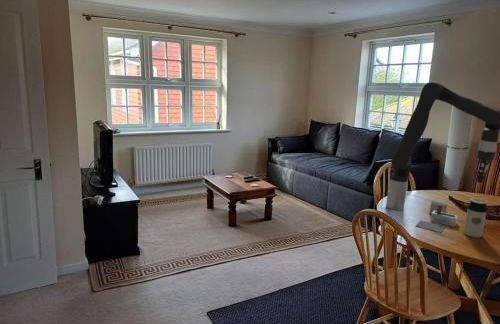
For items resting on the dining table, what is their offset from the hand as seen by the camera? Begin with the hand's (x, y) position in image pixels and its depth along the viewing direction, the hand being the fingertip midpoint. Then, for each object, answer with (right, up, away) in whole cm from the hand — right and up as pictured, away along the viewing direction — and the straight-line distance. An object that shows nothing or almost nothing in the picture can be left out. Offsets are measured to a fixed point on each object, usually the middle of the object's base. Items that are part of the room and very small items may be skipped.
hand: (480, 180), depth 185 cm
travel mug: (-7, -27, -4) cm, 28 cm away
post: (-16, -22, +12) cm, 30 cm away
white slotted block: (-13, -23, +11) cm, 29 cm away
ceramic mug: (-10, -20, +24) cm, 33 cm away
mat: (-24, -24, +4) cm, 34 cm away
